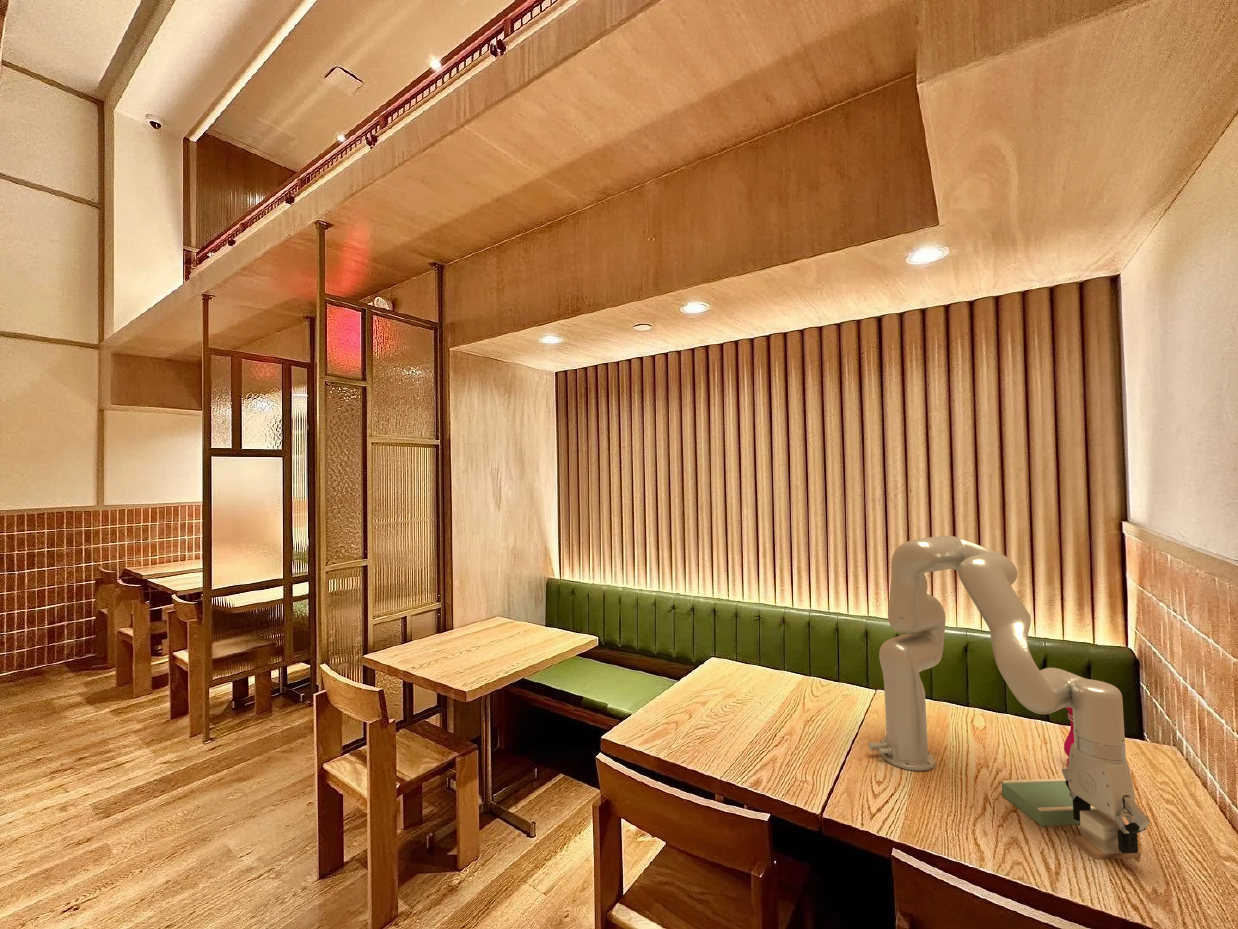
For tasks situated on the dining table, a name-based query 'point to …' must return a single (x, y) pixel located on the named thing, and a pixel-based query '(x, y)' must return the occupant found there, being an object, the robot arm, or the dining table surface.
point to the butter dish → (1100, 836)
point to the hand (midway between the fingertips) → (1104, 835)
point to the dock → (1042, 800)
